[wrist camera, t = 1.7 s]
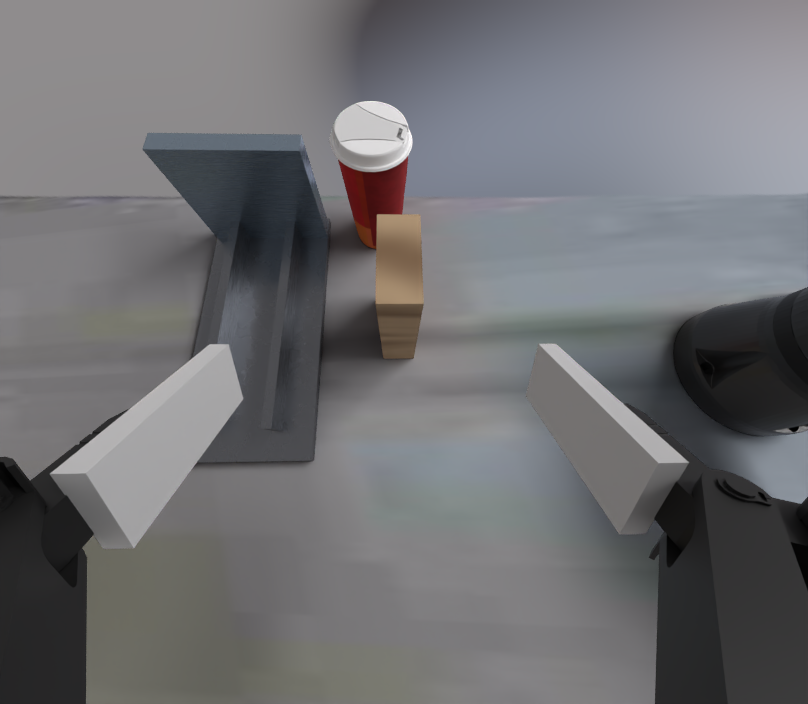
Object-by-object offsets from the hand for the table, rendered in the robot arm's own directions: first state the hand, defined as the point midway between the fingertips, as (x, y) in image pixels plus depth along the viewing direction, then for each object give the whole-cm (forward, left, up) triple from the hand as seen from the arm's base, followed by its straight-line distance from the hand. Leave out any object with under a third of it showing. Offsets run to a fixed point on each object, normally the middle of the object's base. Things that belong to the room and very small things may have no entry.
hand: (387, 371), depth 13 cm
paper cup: (+18, -17, -21) cm, 33 cm away
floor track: (+19, +2, -21) cm, 28 cm away
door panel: (+7, -9, -21) cm, 24 cm away
